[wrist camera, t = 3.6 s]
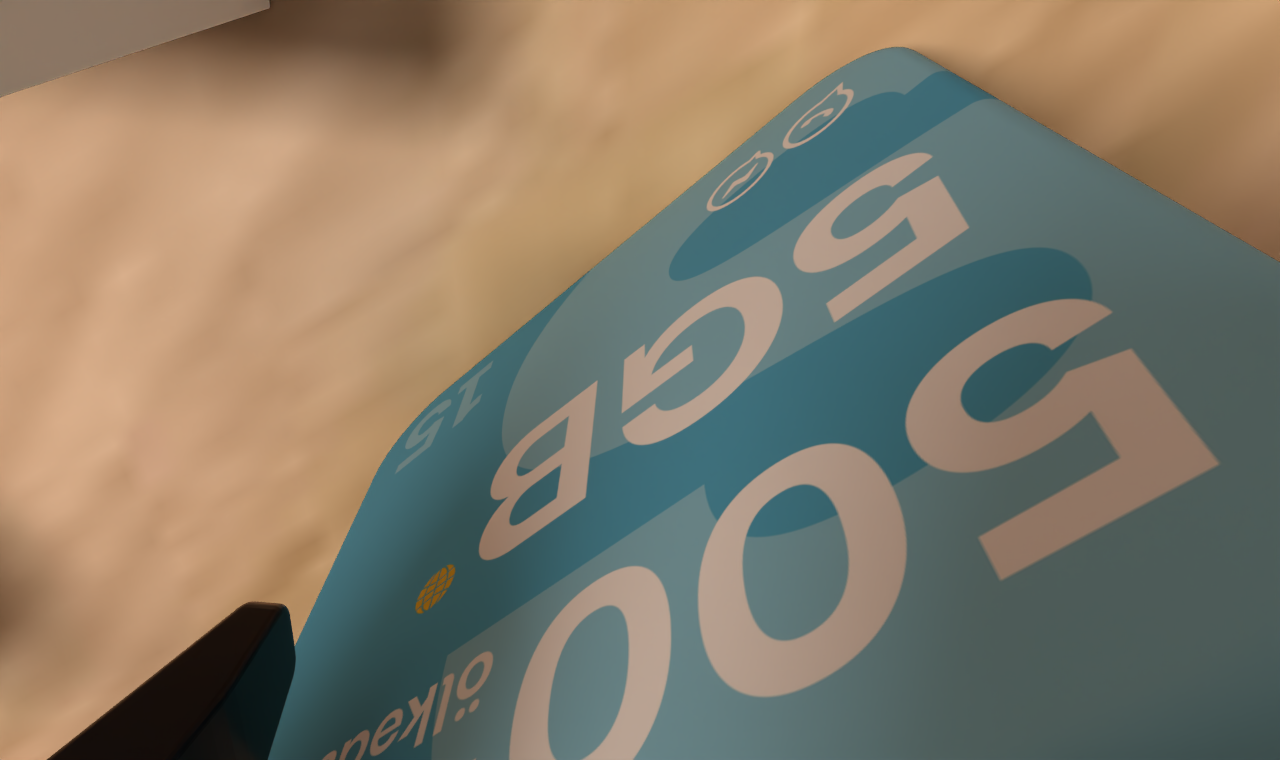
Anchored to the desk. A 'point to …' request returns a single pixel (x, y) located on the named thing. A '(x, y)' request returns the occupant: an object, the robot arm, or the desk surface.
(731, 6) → the desk surface
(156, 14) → the white box
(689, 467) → the data package
